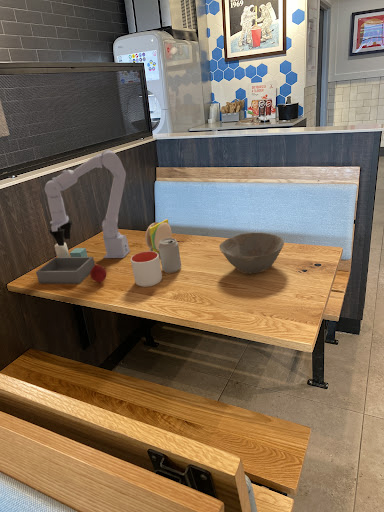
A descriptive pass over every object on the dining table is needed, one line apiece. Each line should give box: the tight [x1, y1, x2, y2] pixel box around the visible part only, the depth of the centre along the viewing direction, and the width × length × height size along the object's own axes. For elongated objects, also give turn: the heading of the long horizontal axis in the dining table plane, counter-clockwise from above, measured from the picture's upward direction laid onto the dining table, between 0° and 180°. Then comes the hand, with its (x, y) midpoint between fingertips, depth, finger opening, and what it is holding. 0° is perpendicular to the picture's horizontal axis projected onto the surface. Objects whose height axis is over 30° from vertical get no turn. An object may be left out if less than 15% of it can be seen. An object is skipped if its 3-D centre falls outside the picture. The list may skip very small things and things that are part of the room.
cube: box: [69, 247, 89, 257], centre depth 169 cm, size 5×5×5 cm
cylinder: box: [54, 242, 70, 257], centre depth 173 cm, size 5×5×7 cm
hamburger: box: [144, 218, 173, 254], centre depth 169 cm, size 12×8×12 cm
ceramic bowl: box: [218, 232, 285, 274], centre depth 141 cm, size 22×23×10 cm
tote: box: [35, 256, 95, 285], centre depth 156 cm, size 18×14×5 cm
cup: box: [130, 250, 163, 288], centre depth 142 cm, size 10×10×10 cm
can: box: [158, 237, 182, 274], centre depth 149 cm, size 8×8×12 cm
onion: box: [89, 262, 108, 284], centre depth 146 cm, size 6×6×8 cm
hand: (64, 242), depth 164 cm, fingers open, 7 cm apart
